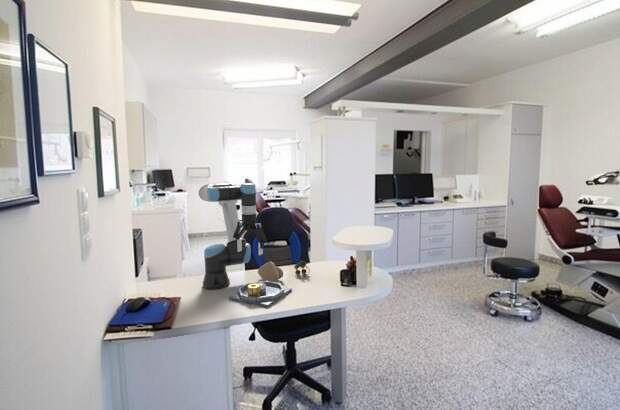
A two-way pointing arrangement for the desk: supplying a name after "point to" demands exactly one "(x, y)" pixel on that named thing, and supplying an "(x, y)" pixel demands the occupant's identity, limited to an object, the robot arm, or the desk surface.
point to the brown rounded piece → (270, 272)
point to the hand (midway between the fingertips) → (250, 252)
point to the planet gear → (254, 290)
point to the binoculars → (302, 265)
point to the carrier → (262, 294)
